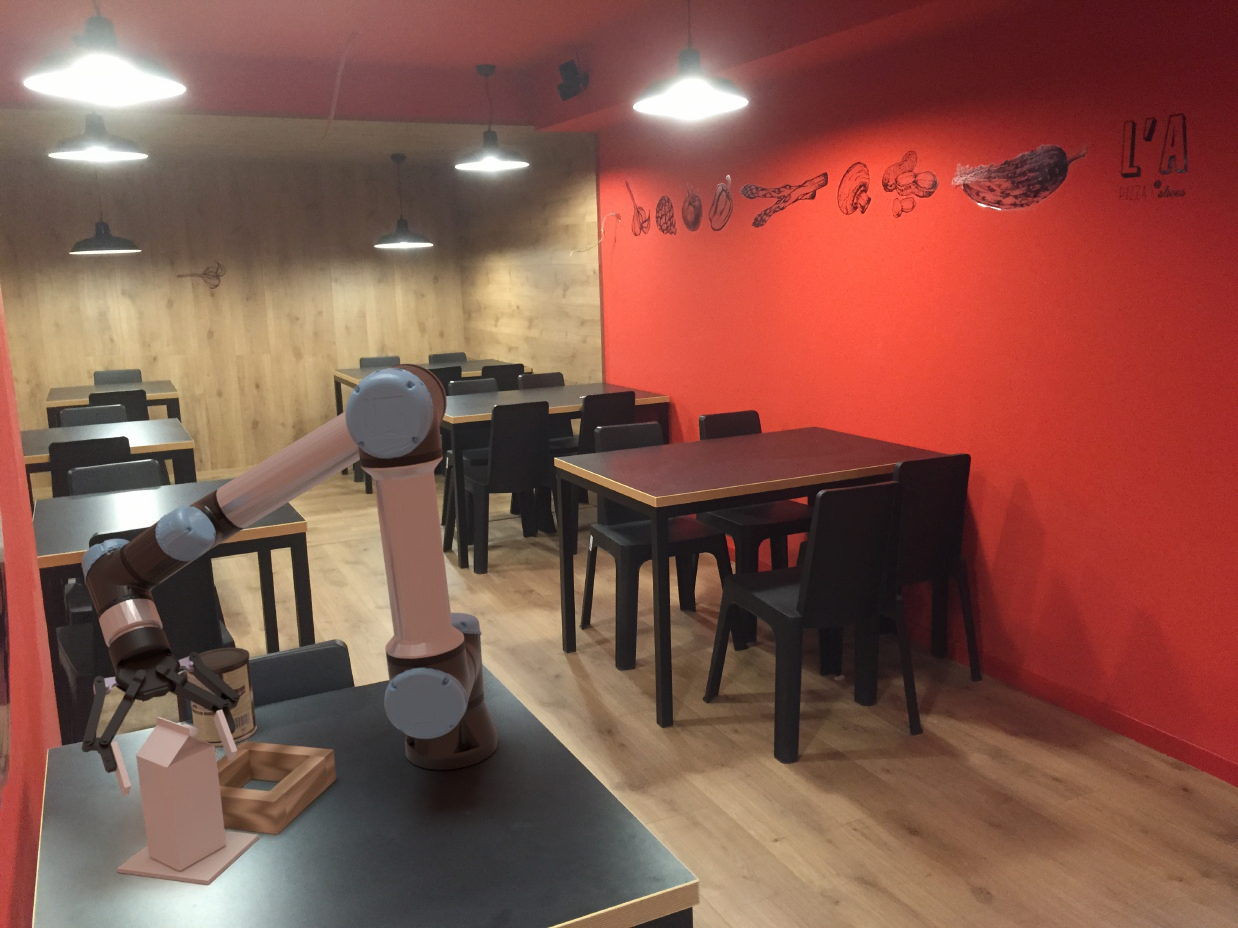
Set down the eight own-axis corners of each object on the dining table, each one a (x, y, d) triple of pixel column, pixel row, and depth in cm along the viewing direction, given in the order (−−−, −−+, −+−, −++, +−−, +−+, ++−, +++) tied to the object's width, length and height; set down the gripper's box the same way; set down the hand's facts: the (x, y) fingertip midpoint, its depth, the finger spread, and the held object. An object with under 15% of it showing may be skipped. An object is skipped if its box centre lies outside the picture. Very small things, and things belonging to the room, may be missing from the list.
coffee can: (212, 720, 176) (204, 646, 173) (267, 721, 174) (259, 647, 172) (182, 746, 165) (173, 668, 163) (239, 747, 164) (231, 669, 162)
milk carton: (180, 872, 128) (163, 738, 124) (148, 857, 132) (131, 726, 128) (226, 845, 134) (212, 717, 130) (195, 832, 137) (180, 706, 134)
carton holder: (336, 778, 153) (333, 749, 152) (277, 834, 137) (274, 801, 136) (247, 769, 157) (244, 740, 156) (180, 822, 141) (177, 790, 140)
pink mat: (258, 838, 136) (258, 834, 136) (208, 884, 126) (207, 880, 126) (173, 827, 140) (173, 824, 140) (117, 872, 129) (117, 868, 129)
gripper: (220, 629, 149) (267, 753, 140) (35, 675, 133) (76, 818, 124) (229, 604, 144) (278, 730, 135) (37, 648, 128) (80, 795, 119)
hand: (181, 772), depth 130 cm, fingers open, 13 cm apart
